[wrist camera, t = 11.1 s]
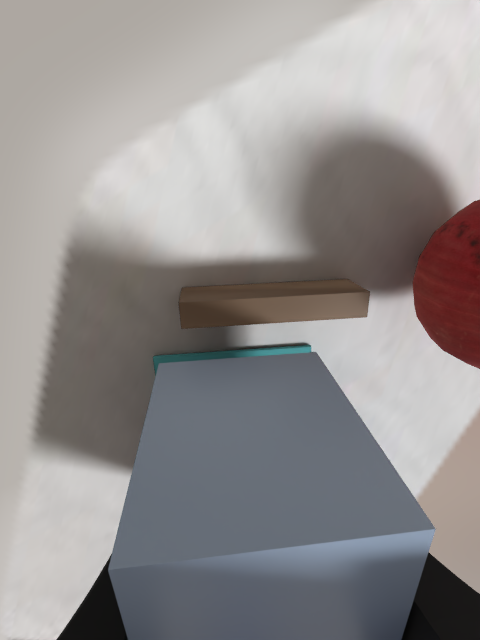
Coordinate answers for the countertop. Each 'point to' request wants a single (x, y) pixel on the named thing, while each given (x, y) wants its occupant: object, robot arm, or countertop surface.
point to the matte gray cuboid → (263, 511)
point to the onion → (452, 286)
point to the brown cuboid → (271, 303)
